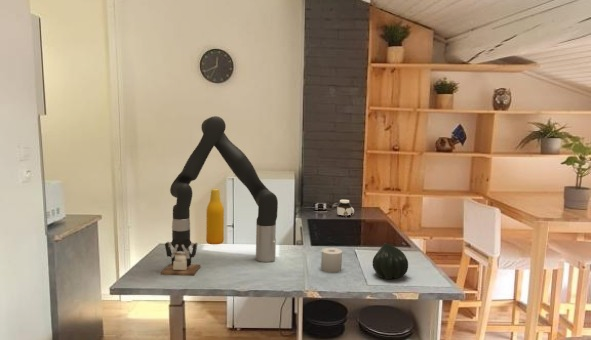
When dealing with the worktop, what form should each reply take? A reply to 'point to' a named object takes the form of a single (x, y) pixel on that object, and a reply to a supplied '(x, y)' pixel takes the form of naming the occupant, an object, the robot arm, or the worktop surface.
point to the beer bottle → (215, 219)
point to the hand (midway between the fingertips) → (181, 265)
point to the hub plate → (189, 271)
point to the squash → (390, 262)
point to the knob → (180, 261)
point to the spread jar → (344, 208)
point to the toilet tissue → (331, 260)
